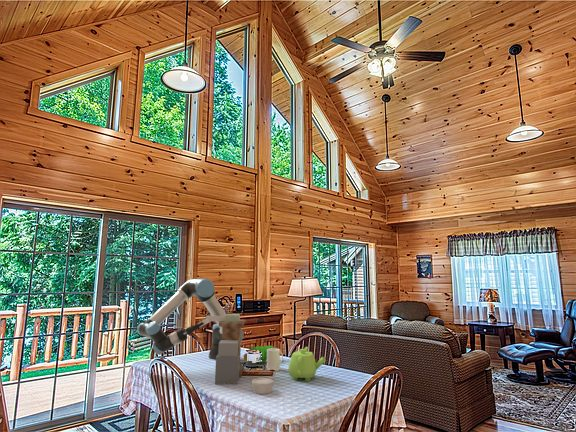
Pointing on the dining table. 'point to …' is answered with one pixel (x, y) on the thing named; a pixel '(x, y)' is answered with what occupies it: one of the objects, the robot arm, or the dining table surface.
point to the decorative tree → (262, 349)
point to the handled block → (225, 318)
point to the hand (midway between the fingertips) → (210, 318)
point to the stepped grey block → (227, 362)
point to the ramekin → (262, 385)
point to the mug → (274, 358)
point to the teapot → (304, 364)
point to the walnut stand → (233, 334)
